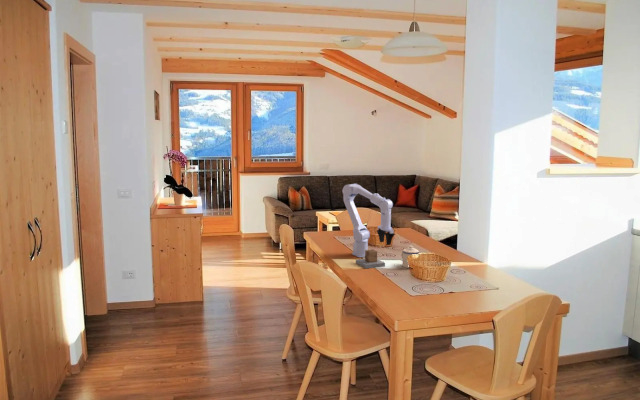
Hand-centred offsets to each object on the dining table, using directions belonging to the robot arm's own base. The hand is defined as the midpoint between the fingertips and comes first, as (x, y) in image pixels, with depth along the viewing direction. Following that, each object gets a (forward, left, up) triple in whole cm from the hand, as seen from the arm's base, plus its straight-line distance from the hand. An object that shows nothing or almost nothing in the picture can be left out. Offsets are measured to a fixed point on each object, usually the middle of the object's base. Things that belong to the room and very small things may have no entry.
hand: (385, 243), depth 287 cm
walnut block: (+6, -12, -8) cm, 16 cm away
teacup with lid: (+16, +6, -10) cm, 20 cm away
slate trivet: (+6, -13, -10) cm, 17 cm away
